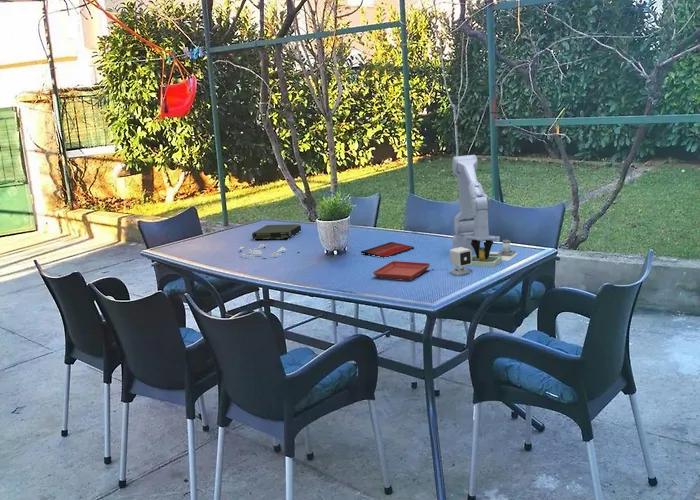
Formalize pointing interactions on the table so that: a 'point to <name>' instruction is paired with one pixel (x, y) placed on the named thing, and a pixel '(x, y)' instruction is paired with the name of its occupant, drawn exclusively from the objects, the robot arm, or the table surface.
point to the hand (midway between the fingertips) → (482, 258)
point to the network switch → (276, 231)
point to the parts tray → (495, 262)
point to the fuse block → (503, 255)
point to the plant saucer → (401, 270)
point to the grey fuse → (506, 246)
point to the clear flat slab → (260, 251)
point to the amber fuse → (482, 254)
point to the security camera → (460, 260)
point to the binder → (388, 249)
